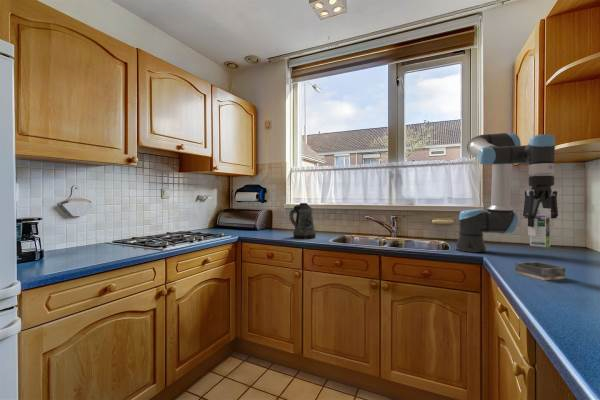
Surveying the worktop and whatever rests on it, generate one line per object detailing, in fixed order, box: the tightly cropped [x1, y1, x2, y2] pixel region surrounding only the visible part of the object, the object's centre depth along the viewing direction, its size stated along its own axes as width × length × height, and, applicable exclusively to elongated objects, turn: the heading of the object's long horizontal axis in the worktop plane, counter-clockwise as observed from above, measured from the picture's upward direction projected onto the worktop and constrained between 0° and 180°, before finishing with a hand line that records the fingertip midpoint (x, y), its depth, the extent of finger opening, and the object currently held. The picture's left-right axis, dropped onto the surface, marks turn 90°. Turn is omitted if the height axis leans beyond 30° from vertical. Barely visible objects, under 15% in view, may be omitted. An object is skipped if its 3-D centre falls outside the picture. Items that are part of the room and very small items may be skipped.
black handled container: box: [289, 202, 317, 240], centre depth 207 cm, size 16×19×25 cm
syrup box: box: [529, 207, 552, 248], centre depth 110 cm, size 6×6×14 cm
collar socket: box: [514, 261, 566, 281], centre depth 110 cm, size 11×11×4 cm
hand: (540, 235), depth 110 cm, fingers closed on syrup box, 7 cm apart
